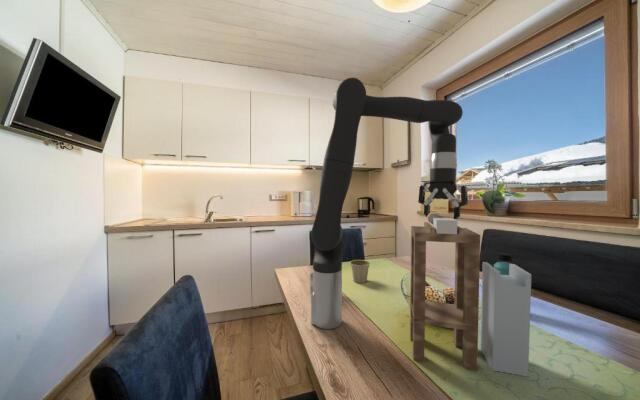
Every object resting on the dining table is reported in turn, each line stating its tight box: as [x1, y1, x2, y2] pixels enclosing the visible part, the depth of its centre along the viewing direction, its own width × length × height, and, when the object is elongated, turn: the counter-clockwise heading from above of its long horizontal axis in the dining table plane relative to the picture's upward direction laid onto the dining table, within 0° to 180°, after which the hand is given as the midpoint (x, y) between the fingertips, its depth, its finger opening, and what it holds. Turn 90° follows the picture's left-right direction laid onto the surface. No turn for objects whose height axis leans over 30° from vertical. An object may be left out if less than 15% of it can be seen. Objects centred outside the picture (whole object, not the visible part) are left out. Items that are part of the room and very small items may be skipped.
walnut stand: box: [409, 221, 481, 372], centre depth 65 cm, size 14×11×33 cm
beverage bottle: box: [493, 252, 513, 275], centre depth 87 cm, size 6×7×20 cm
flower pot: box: [349, 259, 371, 284], centre depth 116 cm, size 9×9×9 cm
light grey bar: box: [426, 212, 458, 234], centre depth 68 cm, size 4×20×3 cm, turn 165°
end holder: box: [480, 261, 532, 378], centre depth 61 cm, size 7×8×24 cm
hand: (441, 217), depth 81 cm, fingers open, 8 cm apart
